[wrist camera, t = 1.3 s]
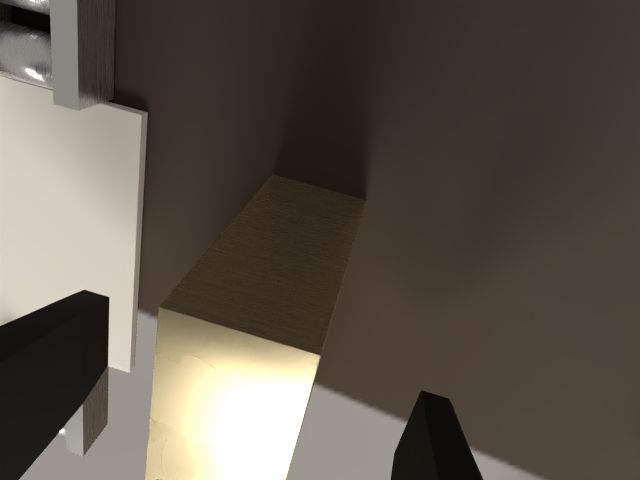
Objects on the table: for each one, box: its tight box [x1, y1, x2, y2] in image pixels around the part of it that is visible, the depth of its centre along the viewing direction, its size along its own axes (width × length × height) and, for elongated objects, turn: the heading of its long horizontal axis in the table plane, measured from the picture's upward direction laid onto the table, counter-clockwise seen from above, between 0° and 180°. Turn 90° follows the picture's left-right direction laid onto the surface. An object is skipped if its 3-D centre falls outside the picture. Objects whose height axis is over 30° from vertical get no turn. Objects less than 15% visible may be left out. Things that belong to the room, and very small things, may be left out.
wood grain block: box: [145, 174, 366, 480], centre depth 11 cm, size 2×7×6 cm, turn 167°
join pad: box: [0, 75, 148, 373], centre depth 14 cm, size 5×8×1 cm, turn 168°
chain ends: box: [0, 0, 116, 456], centre depth 14 cm, size 3×15×1 cm, turn 168°
